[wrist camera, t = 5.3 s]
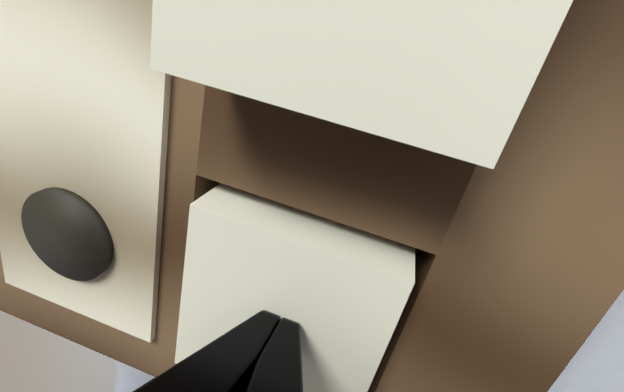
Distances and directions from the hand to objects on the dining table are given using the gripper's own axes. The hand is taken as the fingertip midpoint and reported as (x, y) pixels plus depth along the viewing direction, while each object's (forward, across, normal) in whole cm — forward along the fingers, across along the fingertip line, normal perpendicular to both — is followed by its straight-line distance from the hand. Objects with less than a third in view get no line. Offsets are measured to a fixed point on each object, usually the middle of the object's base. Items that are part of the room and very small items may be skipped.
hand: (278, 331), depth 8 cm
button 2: (+3, 0, 0) cm, 3 cm away
